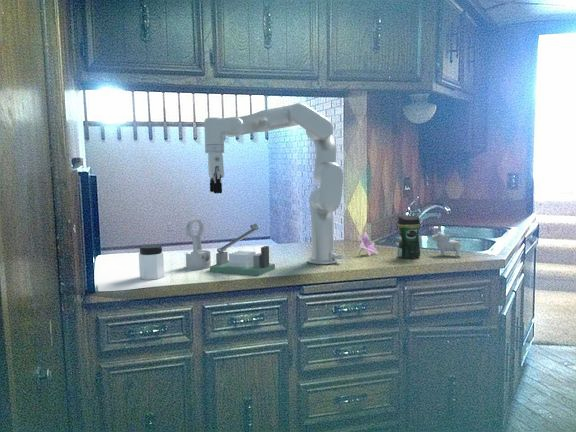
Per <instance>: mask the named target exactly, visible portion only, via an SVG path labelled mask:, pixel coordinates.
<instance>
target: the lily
mask: <svg viewBox="0 0 576 432" xmlns="http://www.w3.org/2000/svg"><path fill="white" fill-rule="evenodd" d="M357 237H358V239H360V241H361V243H360V245H359V247H360V251H359V253H358V254H361V252H362V250H363V249H365V250H366V252H367V254H368V257H371V255H372V253H374V254H376V255H379V251H378V249H377V248H376V247H375V246H374V245H375V242H374V241H372V240H371V239H370V236H369V234H368V233H367V232H366V231H365V232H364V236H363V237H362V236H361V235H359V234H358V235H357Z"/></svg>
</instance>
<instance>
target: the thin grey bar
mask: <svg viewBox="0 0 576 432" xmlns="http://www.w3.org/2000/svg"><path fill="white" fill-rule="evenodd" d="M249 227H250V229H249V230H248V231H245V232H244V233H243V234H242V235H240V236H238V237H237V238H234V239H233V240H231V241H230V242H228V243H227V244H225V245H223V246H221V247H218V248H217V249H216V252H217V253H220V252H227V249H229V248H230V247H231V246H233V245H235V244H237V243H238V242H240V241H241V240H243V239H245V238H247V237H249V236H250V235H252V234H254V233H255V232H257V231H258V230H260V228H259V227H258V225H257V223H252V224H251V225H249Z"/></svg>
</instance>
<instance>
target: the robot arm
mask: <svg viewBox="0 0 576 432" xmlns="http://www.w3.org/2000/svg"><path fill="white" fill-rule="evenodd" d="M294 126H300V127H301V128H302V129H304V130H305V134H306V136H307V138H309V139H310V140H311V141H312V142H313V144H314V146H315V149H316V150H315V152H316V153H315V163H314V172H313V176H314V180H315V181H316V183H318V184H320V185H319V186H320V187H317V188H316V189H313V191H312V192H311V193H310V195H309V202H308V203H309V211H310V240H311V241H310V247H311V248H310V251H311V252H310V253H311V257H309V258H307V262H308V263H309V264H314V265H329V264H336V263H337V262H338V260H343V258H344V257H343V256H344V255H343V254H342V253H337V252H336V250H334V214H333V213H334V212H335V211H337V209H339V207H340V206H341V202H342V197H343V195H342V194H343V186H344V172H343V168H342V167H341V165H339V164H338V163H337V143H336V141H335V138H334V136H333V133H334V126H333V124H332V122H331V121H330V120H329V119H328V118H327V117H326V116H324V115H322V114H321V113H319V112H318V111H316V110H315V109H313V108H311V107H310V106H309V105H307V104H305V103H302V102H298V103H296V102H295V103H293V104H289V105H284V106H279V107H273V108H270V109H269V108H268V109H263V110H259V111H256V112H255V113H251V114H247V115H242V116H238V117H237V116H231V117H207V118H205V119H204V150H205V151H204V154H207V166H208V167H207V168H208V177H209V192H211V193H213V194H222V193H223V183H222V178H224V177H225V168H224V157H223V154H225V136H226V137H228V138H233V137H237V136H243V135H249V134H254V133H265V132H270V131H274V130H279V129H280V130H281V129H285V128H289V127H294Z"/></svg>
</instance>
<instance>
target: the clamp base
mask: <svg viewBox="0 0 576 432" xmlns="http://www.w3.org/2000/svg"><path fill="white" fill-rule="evenodd" d="M215 262H216V264H213V265H211V266H210V268H209V272H212V273H221V272H222V273H223V274H224V273H225V274H235V275H244V276H246V275H247V276H258V277H259V276H262V275H263V274H264V275H265V274H266V273H268V272H270V271H273V270H275V269H276V263H270V246H269V245H265V246H261V247H260V253H257V252H256V251H247V250H237V251H234V252H231V253H228V251H223V252H220V253H218V252H217V253H215ZM222 273H221V274H222Z"/></svg>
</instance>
